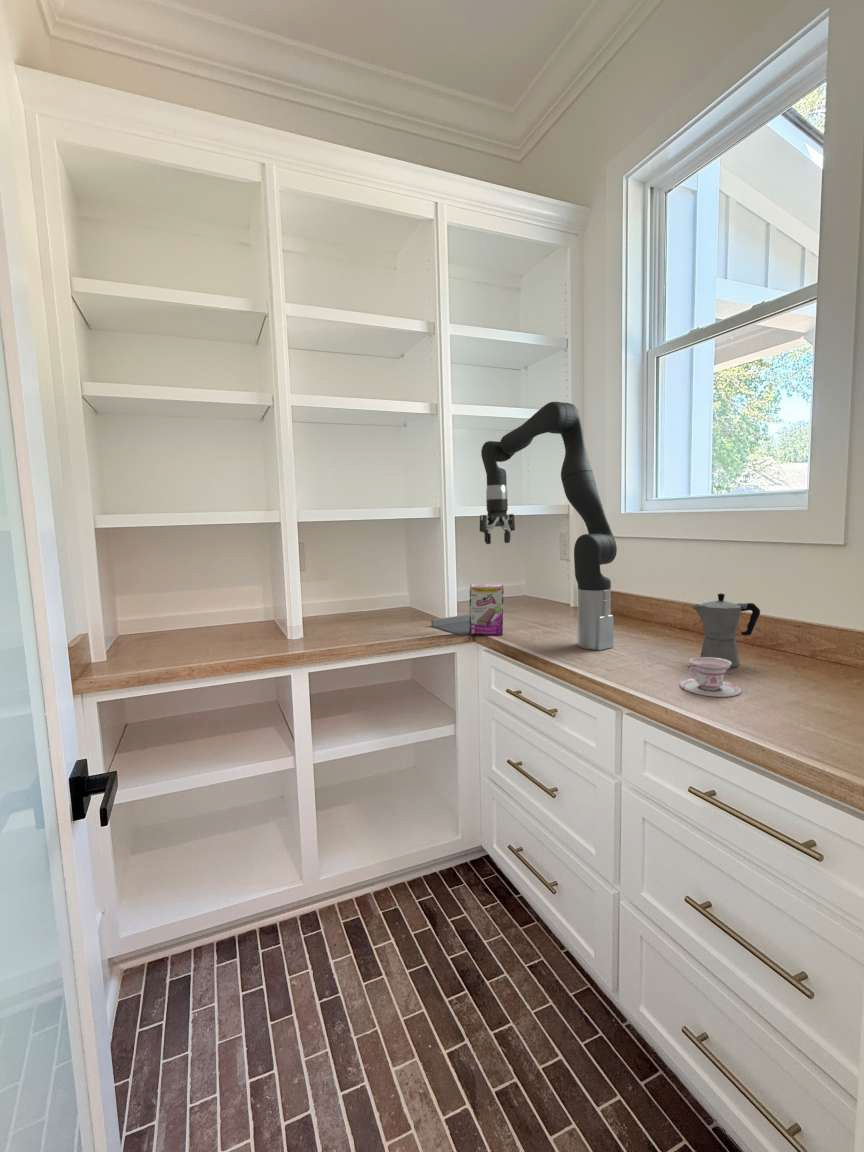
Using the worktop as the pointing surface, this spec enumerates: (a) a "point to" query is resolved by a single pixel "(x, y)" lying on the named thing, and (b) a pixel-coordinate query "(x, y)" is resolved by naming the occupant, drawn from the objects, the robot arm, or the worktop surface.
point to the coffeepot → (723, 627)
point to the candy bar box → (486, 609)
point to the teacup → (710, 677)
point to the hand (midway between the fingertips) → (497, 543)
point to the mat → (453, 624)
